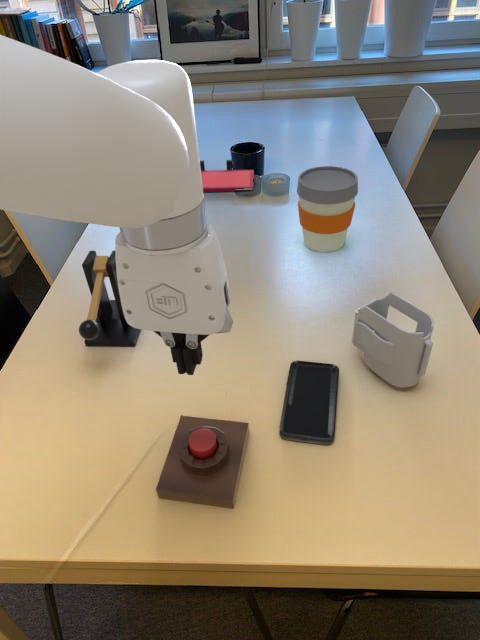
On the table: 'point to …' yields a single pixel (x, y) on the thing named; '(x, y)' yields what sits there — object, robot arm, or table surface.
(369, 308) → the cable organizer
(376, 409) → the table surface
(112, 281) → the switch bracket
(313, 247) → the reusable coffee cup
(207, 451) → the button
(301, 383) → the phone
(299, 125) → the table surface
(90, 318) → the switch lever
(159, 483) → the button block
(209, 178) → the red board with handle
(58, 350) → the table surface
